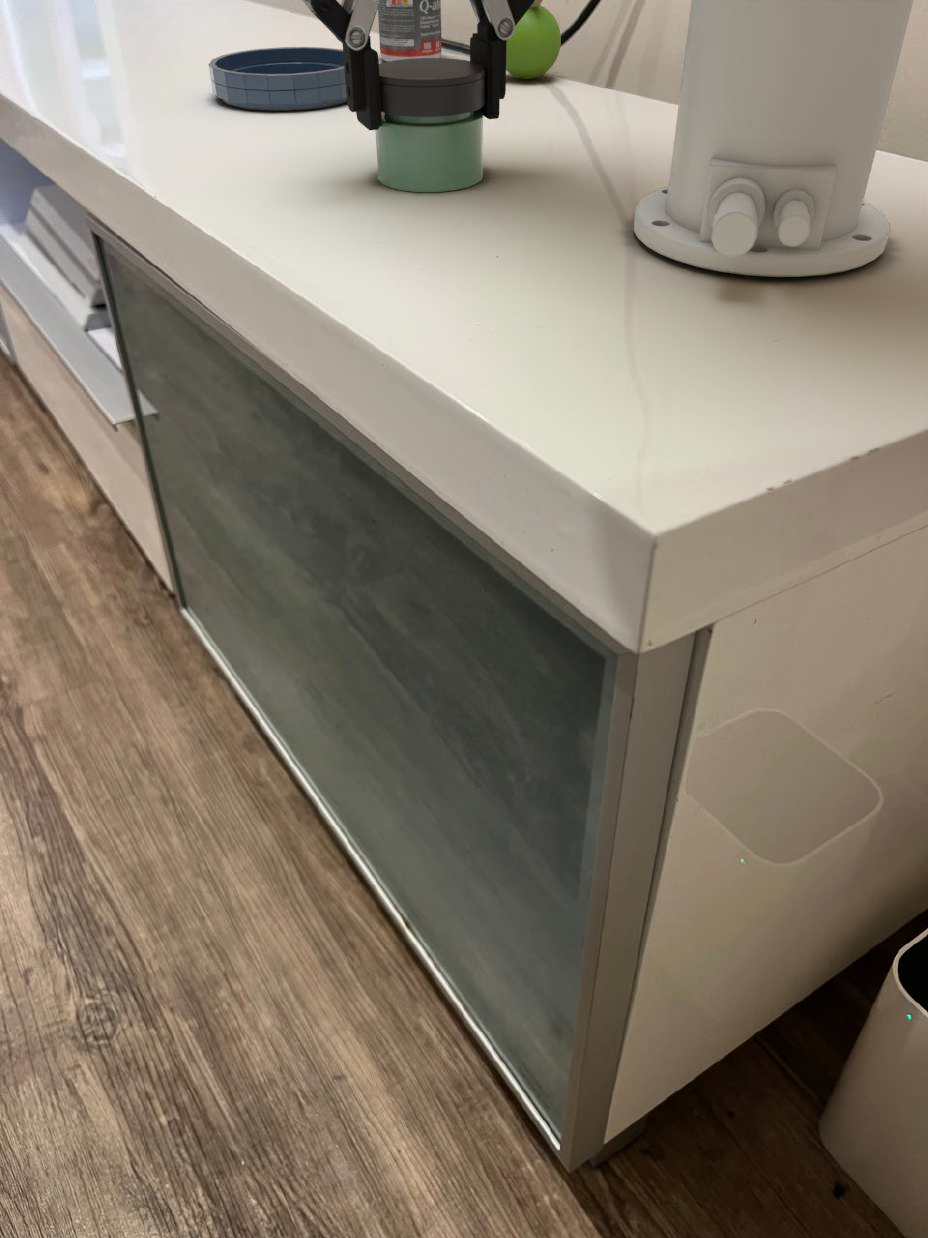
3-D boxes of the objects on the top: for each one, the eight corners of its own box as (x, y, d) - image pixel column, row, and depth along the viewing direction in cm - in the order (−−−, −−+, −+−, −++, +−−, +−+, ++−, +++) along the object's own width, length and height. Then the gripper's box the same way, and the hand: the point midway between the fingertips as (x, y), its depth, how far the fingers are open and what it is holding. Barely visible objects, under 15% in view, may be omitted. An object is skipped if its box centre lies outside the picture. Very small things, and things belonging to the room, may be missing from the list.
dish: (334, 115, 70) (331, 77, 69) (188, 108, 73) (181, 71, 71) (384, 83, 79) (382, 49, 78) (252, 77, 82) (248, 44, 80)
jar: (468, 195, 55) (467, 96, 52) (364, 188, 56) (357, 91, 53) (493, 166, 60) (494, 74, 56) (396, 160, 61) (391, 70, 58)
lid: (347, 108, 55) (345, 71, 53) (413, 88, 59) (412, 54, 58) (444, 122, 52) (443, 83, 51) (505, 99, 56) (506, 64, 55)
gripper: (551, -290, 49) (537, 95, 61) (218, -298, 45) (270, 118, 56) (617, -305, 44) (587, 120, 55) (245, -317, 40) (297, 148, 51)
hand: (427, 116), depth 56 cm, fingers closed on lid, 6 cm apart
